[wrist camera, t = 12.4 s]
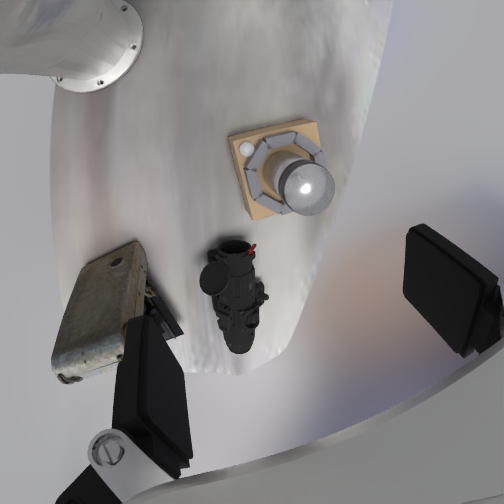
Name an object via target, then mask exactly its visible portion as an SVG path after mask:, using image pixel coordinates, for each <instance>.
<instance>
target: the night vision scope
mask: <svg viewBox="0 0 504 504" xmlns="http://www.w3.org/2000/svg"><path fill="white" fill-rule="evenodd" d="M256 245H257V244H253V245H252V247H251V245H250V244H249V243H247V242H245V241H241V240H231V241H226V242H223V243H222V244H220V245H219V247H218V250H211V251H209V252H208V253H207V254H208V261H209V264H207V265H206V266H205V267H204V269H203V271H202V273H201V275H200V280H199V281H200V287H201V289H202V291H203V292H204V293H206V294H208V295H210V296H212V302H213V307H214V310H215V312H216V316H217V317H219V320H218V321H217V322H218V325H219V328H220V330H222V331H223V335H224V339H225V341H226V344H227V346H228V347H229V350H230V351H231V352H233V353H235V354H243V353H246V352H248V351H249V350H250V348H251V346H252V344H253V340H254V337H255V328H256V327H257V326H258V325H259V307H260V306H261V305H262V304H263V303H264V300H268V299H269V295H267V294H265V293H264V285H263V283H262V282H260V284H258V283H255V268H254V267H253V264H252V260H253V259H254V258H255V251H253V250H254V249H255V247H256Z"/></svg>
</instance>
